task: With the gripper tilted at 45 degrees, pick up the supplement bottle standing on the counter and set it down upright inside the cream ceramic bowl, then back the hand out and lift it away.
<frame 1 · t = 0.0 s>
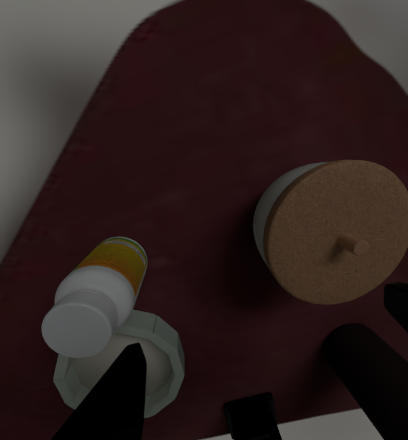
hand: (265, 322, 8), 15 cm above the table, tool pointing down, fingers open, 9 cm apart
supplement bottle: (122, 259, 22), on the table
lidded jar: (289, 213, 23), on the table
bowl: (126, 357, 25), on the table
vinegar: (346, 342, 28), on the table
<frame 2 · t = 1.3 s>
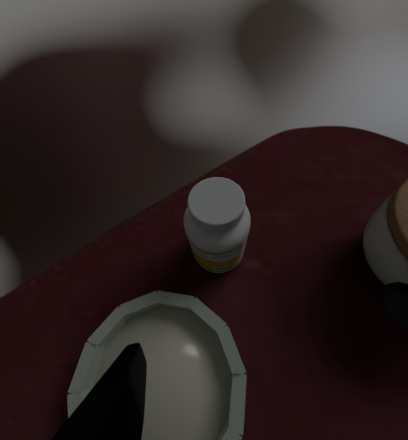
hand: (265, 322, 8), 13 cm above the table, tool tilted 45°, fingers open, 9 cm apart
supplement bottle: (218, 249, 24), on the table
lidded jar: (399, 263, 21), on the table
bowl: (164, 378, 18), on the table
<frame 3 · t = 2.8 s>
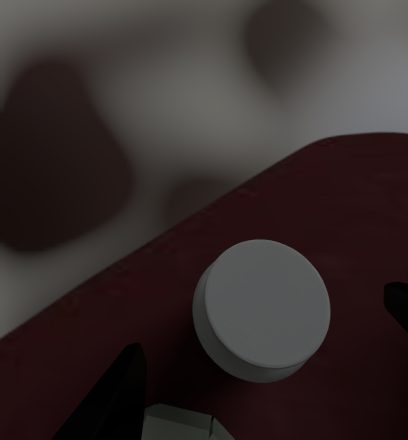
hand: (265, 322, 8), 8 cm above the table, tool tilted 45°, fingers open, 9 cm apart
supplement bottle: (241, 320, 16), on the table
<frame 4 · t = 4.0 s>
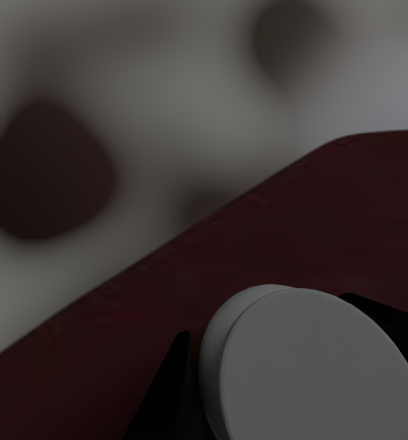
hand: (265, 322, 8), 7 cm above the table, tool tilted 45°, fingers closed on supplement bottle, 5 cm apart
supplement bottle: (253, 354, 13), on the table, touching gripper
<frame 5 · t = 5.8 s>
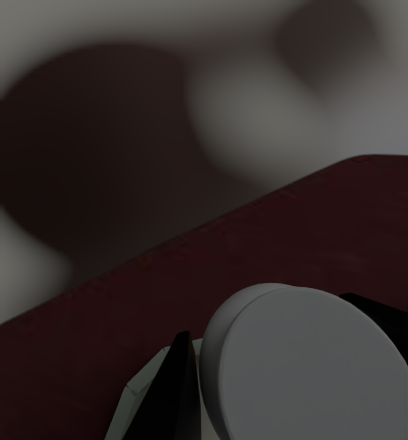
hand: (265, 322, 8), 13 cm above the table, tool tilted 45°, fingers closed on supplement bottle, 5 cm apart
supplement bottle: (255, 353, 13), point 6 cm above the table, touching gripper
bowl: (205, 439, 16), on the table
when the fingers open (9 cm above the table, at t = 7.5 s): supplement bottle drops 1 cm, resting on bowl.
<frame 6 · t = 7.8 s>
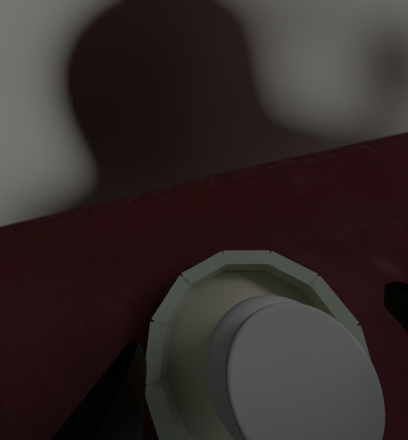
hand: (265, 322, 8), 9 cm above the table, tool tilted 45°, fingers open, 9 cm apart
supplement bottle: (252, 355, 14), point 1 cm above the table, touching bowl
bowl: (249, 352, 15), on the table
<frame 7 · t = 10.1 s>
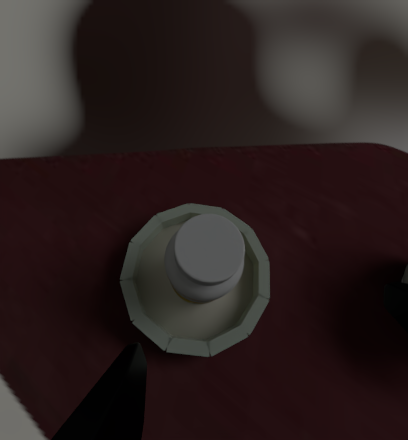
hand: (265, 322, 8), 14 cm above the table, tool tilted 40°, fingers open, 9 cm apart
supplement bottle: (198, 274, 21), point 1 cm above the table, touching bowl
bowl: (196, 274, 22), on the table
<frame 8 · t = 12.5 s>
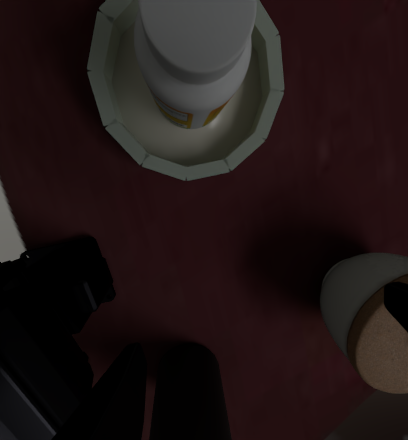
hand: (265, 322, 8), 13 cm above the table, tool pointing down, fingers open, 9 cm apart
supplement bottle: (189, 92, 17), point 1 cm above the table, touching bowl
lidded jar: (346, 282, 24), on the table
bowl: (189, 92, 17), on the table
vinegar: (188, 365, 25), on the table
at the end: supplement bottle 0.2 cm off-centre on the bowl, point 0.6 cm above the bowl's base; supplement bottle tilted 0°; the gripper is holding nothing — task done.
